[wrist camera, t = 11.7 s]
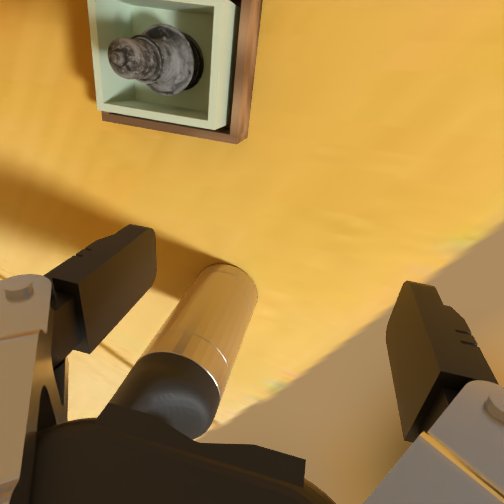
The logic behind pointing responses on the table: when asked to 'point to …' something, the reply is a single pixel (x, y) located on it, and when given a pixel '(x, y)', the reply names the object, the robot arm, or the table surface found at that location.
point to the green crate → (185, 20)
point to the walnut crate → (243, 86)
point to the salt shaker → (158, 59)
